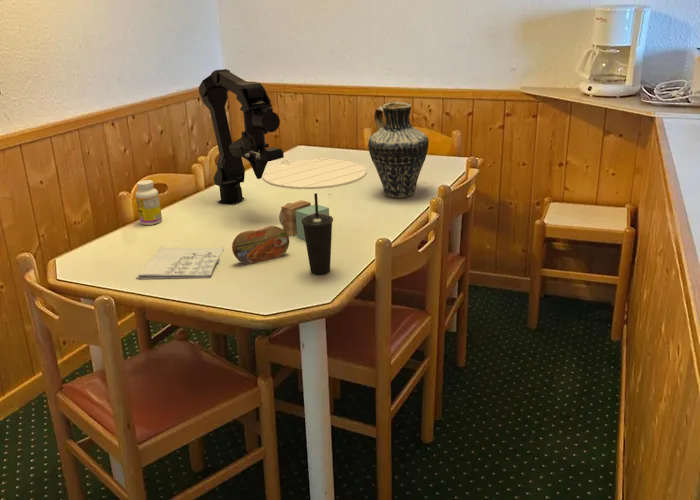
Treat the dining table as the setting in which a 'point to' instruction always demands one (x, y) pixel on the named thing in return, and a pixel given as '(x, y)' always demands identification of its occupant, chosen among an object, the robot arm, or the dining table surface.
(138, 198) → the supplement bottle
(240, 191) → the robot arm
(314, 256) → the drinking cup
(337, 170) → the lazy susan
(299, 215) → the socket block
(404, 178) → the jug
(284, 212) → the sleeve block
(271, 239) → the tin
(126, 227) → the dining table surface
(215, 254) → the folded printed napkin
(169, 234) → the dining table surface
